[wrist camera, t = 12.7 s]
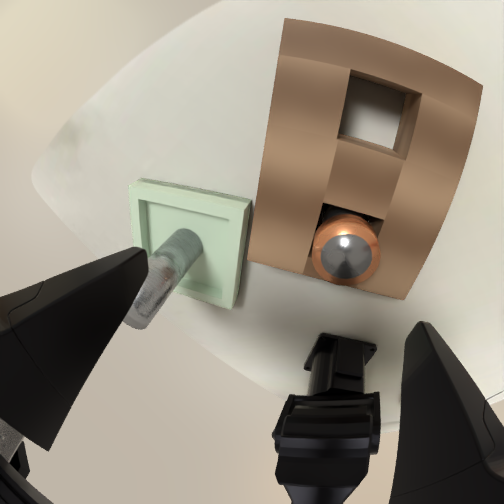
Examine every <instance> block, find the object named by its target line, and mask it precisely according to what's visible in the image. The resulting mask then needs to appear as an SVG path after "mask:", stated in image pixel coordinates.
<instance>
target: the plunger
mask: <svg viewBox="0 0 504 504" xmlns="http://www.w3.org/2000/svg"><path fill="white" fill-rule="evenodd" d="M380 257H381V253H380V247H379V244H378V240H377V236H376V233H375V231H374V229H373V227H372V226H371V225H370V224H369V223H368V222H367V221H366V220H364V216H363V213H360V212H356V211H353V210H349V209H346V208H342V207H339V206H335V205H330V206H329V207H328V208H327V209H326V211H325V213H324V217H323V223H322V224H321V225H320V226H319V228H318V229H317V231H316V233H315V236H314V241H313V249H312V262H313V265H314V268H315V270H316V271H317V273H318V274H319V275H320V276H321V277H322V278H324V279H325V280H327V281H328V282H331V283H333V284H336V285H343V286H348V285H355V284H358V283H361V282H363V281H365V280H366V279H368V278H369V277H370V276H371V275H372V274H373V273H374V272H375V271H376V269H377V267H378V265H379V262H380Z"/></svg>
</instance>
